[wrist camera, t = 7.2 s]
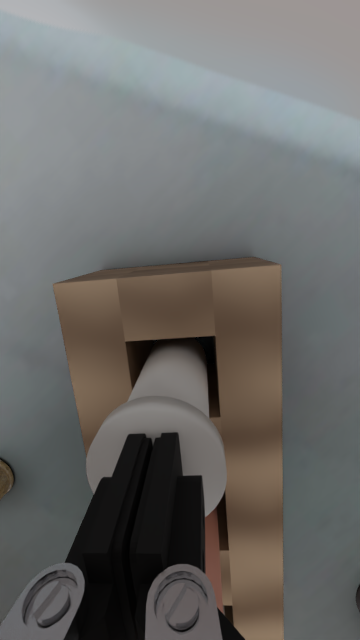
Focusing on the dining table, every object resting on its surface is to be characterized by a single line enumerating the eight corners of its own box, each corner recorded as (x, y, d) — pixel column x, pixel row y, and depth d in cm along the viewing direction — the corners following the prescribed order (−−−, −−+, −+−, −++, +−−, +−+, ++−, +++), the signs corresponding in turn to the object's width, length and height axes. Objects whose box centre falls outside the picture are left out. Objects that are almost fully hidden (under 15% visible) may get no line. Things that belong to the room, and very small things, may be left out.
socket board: (263, 574, 31) (283, 687, 23) (147, 573, 32) (130, 681, 24) (254, 257, 23) (281, 264, 15) (100, 270, 24) (52, 283, 16)
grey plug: (216, 392, 20) (230, 530, 10) (146, 395, 21) (97, 531, 11) (211, 323, 19) (222, 408, 9) (137, 328, 19) (74, 414, 10)
